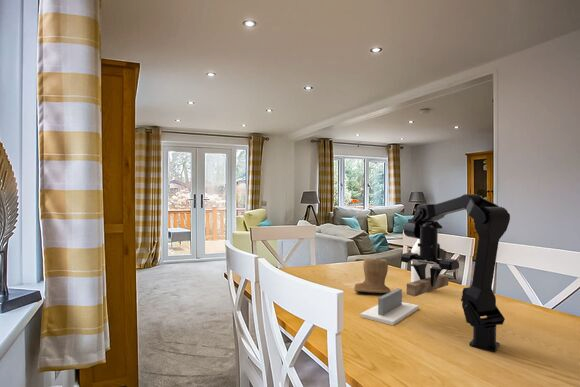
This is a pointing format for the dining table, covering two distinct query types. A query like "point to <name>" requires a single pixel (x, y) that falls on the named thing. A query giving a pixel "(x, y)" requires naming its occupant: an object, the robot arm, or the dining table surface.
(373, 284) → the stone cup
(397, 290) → the ridge
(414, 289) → the walnut bar
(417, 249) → the bottle
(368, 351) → the dining table surface
